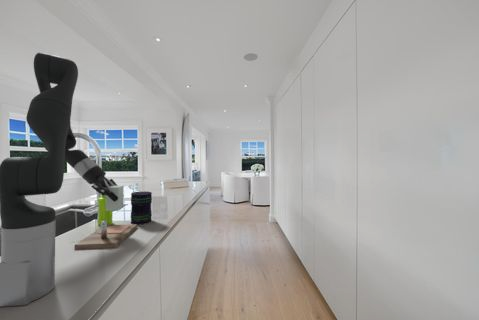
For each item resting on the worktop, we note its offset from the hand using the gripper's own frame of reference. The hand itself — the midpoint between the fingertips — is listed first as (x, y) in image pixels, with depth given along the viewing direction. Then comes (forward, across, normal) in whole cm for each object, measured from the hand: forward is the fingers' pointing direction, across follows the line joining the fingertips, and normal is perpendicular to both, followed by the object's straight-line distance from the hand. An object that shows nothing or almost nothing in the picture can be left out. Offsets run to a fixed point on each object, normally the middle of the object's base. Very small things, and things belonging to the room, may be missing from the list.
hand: (119, 198), depth 90 cm
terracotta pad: (+9, 0, +11) cm, 14 cm away
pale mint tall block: (+2, 0, +5) cm, 5 cm away
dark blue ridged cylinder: (+14, +16, +8) cm, 23 cm away
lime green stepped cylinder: (+3, +14, +19) cm, 24 cm away
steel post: (+8, -9, +11) cm, 17 cm away
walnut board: (+9, -4, +12) cm, 16 cm away
